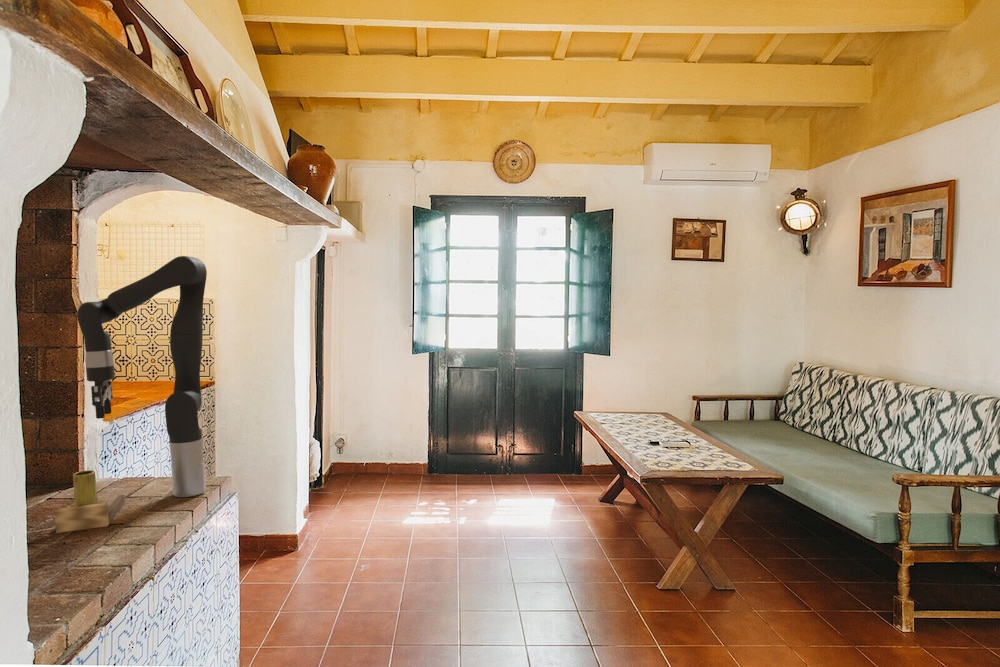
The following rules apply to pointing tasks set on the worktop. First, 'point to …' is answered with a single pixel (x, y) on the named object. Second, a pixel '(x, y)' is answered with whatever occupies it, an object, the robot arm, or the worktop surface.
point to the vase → (84, 488)
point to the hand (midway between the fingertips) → (104, 416)
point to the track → (87, 516)
